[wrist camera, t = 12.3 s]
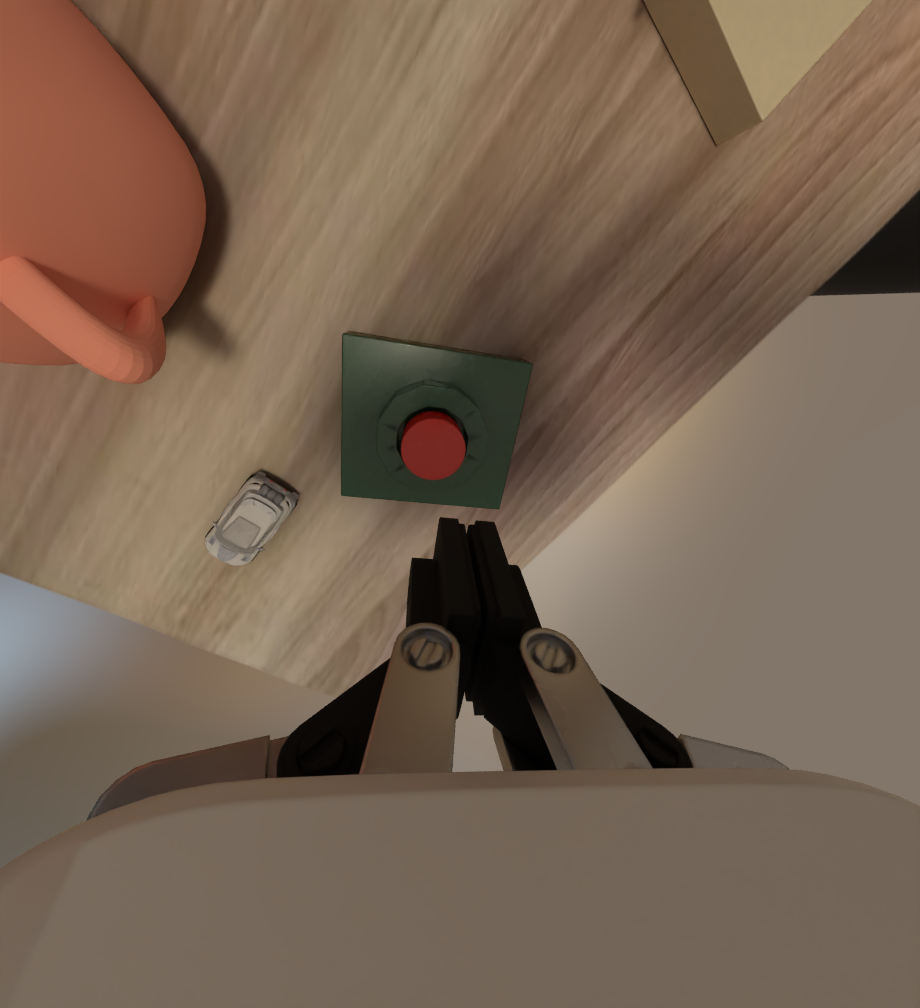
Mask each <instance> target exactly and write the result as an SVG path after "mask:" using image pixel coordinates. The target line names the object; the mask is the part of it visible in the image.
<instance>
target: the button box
mask: <svg viewBox="0 0 920 1008" xmlns="http://www.w3.org/2000/svg"><path fill="white" fill-rule="evenodd" d="M532 366H533V364H532V363H530V362H528V361H526V360H524V359H520V358H514V357H507V356H501V355H495V354H489V353H482V352H476V351H470V350H464V349H457V348H451V347H445V346H439V345H432V344H426V343H420V342H414V341H407V340H401V339H395V338H388V337H382V336H376V335H370V334H363V333H357V332H351V331H349V332H346V333H343V334H342V435H341V495H342V496H351V497H362V498H374V499H385V500H397V501H408V502H419V503H431V504H442V505H454V506H465V507H477V508H488V509H499V508H500V504H501V500H502V495H503V491H504V487H505V482H506V478H507V474H508V469H509V465H510V461H511V456H512V452H513V448H514V443H515V439H516V435H517V431H518V426H519V422H520V418H521V413H522V409H523V405H524V400H525V396H526V392H527V387H528V383H529V379H530V374H531V370H532ZM426 411H438V412H442V413H445V414H447V415H448V416H450V417H451V418H452V419H454V420H455V422H456V423H457V424H458V426H459V428H460V430H461V433H462V435H463V438H464V441H465V446H466V451H465V457H464V460H463V462H462V464H461V466H460V467H459V468H458V469H457V471H455V472H454V473H453V474H452V475H450V476H448V477H446V478H443V479H439V480H428V479H423V478H421V477H418V476H417V475H415V474H413V473H412V472H411V471H410V470H409V469H408V468H407V466H406V465H405V463H404V461H403V459H402V455H401V443H402V435H403V431H404V428H405V426H406V425H407V423H408V422H409V421H410V420H411V419H412V418H413V417H414V416H416V415H418V414H420V413H422V412H426Z"/></svg>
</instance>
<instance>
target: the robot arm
mask: <svg viewBox="0 0 920 1008" xmlns="http://www.w3.org/2000/svg"><path fill="white" fill-rule="evenodd" d="M464 692H465V697H466V701H473V708H474V715H484V718H485V719H486V720H487V721H489V722H490V723H491V724H492V725H493V735H494V741H495V744H496V747H497V751H498V754H499V757H500V760H501V764H502V767H503V770H504V771H488V772H487V771H485V772H452V767H453V753H454V752H453V751H454V737H455V723H456V719H457V718H458V716H459V712H460V708H461V704H462V700H463V696H464ZM0 1008H920V806H918V805H916V804H914V803H912V802H910V801H908V800H905V799H903V798H901V797H899V796H895V795H893V794H891V793H888V792H885V791H882V790H880V789H877V788H875V787H872V786H869V785H866V784H863V783H859V782H855V781H852V780H848V779H844V778H840V777H836V776H832V775H827V774H821V773H815V772H809V771H803V770H790V769H789V768H787V767H786V766H785V765H783V764H782V763H780V762H779V761H777V760H776V759H774V758H772V757H769V756H767V755H764V754H761V753H757V752H753V751H749V750H745V749H741V748H737V747H732V746H728V745H724V744H720V743H716V742H712V741H708V740H703V739H699V738H695V737H691V736H687V735H682V734H680V736H679V737H678V738H676V737H675V736H674V735H673V734H672V733H671V732H669V731H668V730H667V729H666V728H665V727H663V726H662V725H661V724H659V723H658V722H656V721H655V720H653V719H652V718H650V717H649V716H647V715H646V714H644V713H643V712H642V711H640V710H639V709H637V708H636V707H634V706H633V705H631V704H630V703H628V702H627V701H625V700H624V699H622V698H621V697H620V696H618V695H617V694H615V693H614V692H612V691H611V690H609V689H608V688H606V687H605V686H603V685H602V684H600V683H599V681H598V679H597V678H596V676H595V675H594V673H593V671H592V670H591V668H590V667H589V665H588V663H587V662H586V660H585V659H584V657H583V655H582V654H581V652H580V651H579V649H578V648H577V647H576V645H575V644H574V643H573V642H572V641H571V640H570V639H569V638H567V637H566V636H565V635H563V634H561V633H559V632H557V631H555V630H552V629H548V628H542V627H541V624H540V622H539V619H538V616H537V613H536V611H535V608H534V606H533V603H532V600H531V597H530V595H529V592H528V589H527V587H526V584H525V581H524V579H523V576H522V574H521V570H520V568H519V567H518V566H517V565H509V564H508V561H507V558H506V555H505V552H504V549H503V546H502V543H501V540H500V537H499V534H498V531H497V528H496V525H495V523H494V522H488V521H476V522H475V524H474V525H469V526H468V530H467V534H466V529H465V525H464V524H459V521H458V519H454V518H442V517H440V519H439V524H438V530H437V537H436V544H435V551H434V557H433V559H422V558H412V561H411V568H410V577H409V587H408V598H407V615H406V628H405V629H404V630H403V631H402V632H401V633H400V634H399V635H398V637H397V639H396V641H395V643H394V647H393V651H392V655H391V658H390V659H388V660H387V661H386V662H384V663H383V664H381V665H380V666H379V667H377V668H376V669H375V670H373V671H372V672H371V673H369V674H368V675H367V676H365V677H364V678H363V679H361V680H360V681H359V682H357V683H356V684H355V685H353V686H352V687H351V688H349V689H348V690H347V691H345V692H344V693H343V694H341V695H340V696H339V697H337V698H336V699H335V700H333V701H332V702H331V703H329V704H328V705H327V706H325V707H324V708H323V709H321V710H320V711H319V712H317V713H316V714H315V715H313V716H312V717H311V718H309V719H308V720H307V721H305V722H304V723H303V724H301V725H300V726H299V727H298V728H297V729H296V730H295V731H294V732H292V733H291V734H290V735H289V736H287V737H283V738H279V739H274V740H270V736H269V735H268V736H263V737H259V738H255V739H250V740H245V741H241V742H236V743H232V744H228V745H223V746H218V747H214V748H210V749H205V750H201V751H196V752H192V753H187V754H183V755H178V756H174V757H169V758H165V759H160V760H156V761H152V762H149V763H147V764H144V765H141V766H139V767H136V768H134V769H132V770H131V771H129V772H128V773H126V774H125V775H123V776H122V777H120V778H119V779H117V780H116V781H115V782H114V783H113V784H112V785H111V786H110V787H109V788H108V789H107V790H106V791H105V792H104V793H103V794H102V795H101V796H100V797H99V799H98V801H97V802H96V804H95V806H94V807H93V809H92V811H91V812H90V814H89V816H88V818H87V820H86V821H85V822H82V823H80V824H78V825H75V826H73V827H71V828H69V829H68V830H66V831H64V832H62V833H60V834H58V835H56V836H54V837H52V838H50V839H48V840H46V841H44V842H42V843H40V844H39V845H37V846H35V847H34V848H32V849H30V850H29V851H27V852H25V853H24V854H22V855H20V856H19V857H17V858H15V859H14V860H12V861H11V862H9V863H8V864H6V865H5V866H4V867H2V868H1V869H0Z"/></svg>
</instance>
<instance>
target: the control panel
mask: <svg viewBox="0 0 920 1008" xmlns="http://www.w3.org/2000/svg"><path fill="white" fill-rule="evenodd" d="M643 1H644V3H645V5H646V7H647V9H648V11H649V13H650V15H651V17H652V19H653V21H654V23H655V25H656V27H657V29H658V31H659V33H660V35H661V37H662V39H663V41H664V43H665V45H666V47H667V48H668V50H669V52H670V54H671V56H672V58H673V60H674V62H675V64H676V66H677V68H678V70H679V72H680V74H681V76H682V78H683V80H684V82H685V84H686V86H687V88H688V90H689V92H690V94H691V96H692V98H693V100H694V102H695V104H696V106H697V108H698V110H699V112H700V114H701V116H702V118H703V120H704V121H705V123H706V125H707V127H708V129H709V131H710V133H711V135H712V137H713V139H714V141H715V143H716V145H719V144H721V143H723V142H725V141H727V140H728V139H730V138H732V137H734V136H736V135H738V134H740V133H741V132H743V131H745V130H747V129H749V128H751V127H753V126H754V125H756V124H758V123H760V122H762V121H763V120H764V119H765V118H766V117H767V116H768V115H769V114H770V113H771V112H772V110H773V109H774V108H775V107H776V106H777V105H778V104H779V103H780V102H781V101H782V99H783V98H784V97H785V96H786V95H787V94H788V93H789V92H790V91H791V90H792V88H793V87H794V86H795V85H796V84H797V83H798V82H799V81H800V80H801V79H802V77H803V76H804V75H805V74H806V73H807V72H808V71H809V70H810V69H811V68H812V67H813V65H814V64H815V63H816V62H817V61H818V60H819V59H820V58H821V57H822V56H823V54H824V53H825V52H826V51H827V50H828V49H829V48H830V47H831V46H832V45H833V43H834V42H835V41H836V40H837V39H838V38H839V37H840V36H841V35H842V34H843V32H844V31H845V30H846V29H847V28H848V27H849V26H850V25H851V24H852V23H853V21H854V20H855V19H856V18H857V17H858V16H859V15H860V14H861V13H862V12H863V10H864V9H865V8H866V7H867V6H868V5H869V4H870V3H871V2H872V1H873V0H643Z"/></svg>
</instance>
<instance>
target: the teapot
mask: <svg viewBox="0 0 920 1008" xmlns="http://www.w3.org/2000/svg"><path fill="white" fill-rule="evenodd" d="M205 223H206V200H205V194H204V188H203V183H202V180H201V177H200V174H199V171H198V168H197V166H196V164H195V162H194V160H193V158H192V156H191V154H190V152H189V150H188V148H187V146H186V144H185V143H184V141H183V140H182V138H181V137H180V136H179V134H178V133H177V131H176V130H175V128H174V127H173V125H172V124H171V123H170V121H169V120H168V118H167V117H166V115H165V114H164V112H163V111H162V110H161V108H160V107H159V106H158V104H157V103H156V102H155V100H154V99H153V98H152V96H151V95H150V94H149V92H148V91H147V90H146V88H145V87H144V86H143V85H142V83H141V82H140V81H139V79H138V78H137V77H136V75H135V74H134V73H133V71H132V70H131V69H130V68H129V66H128V65H127V64H126V63H125V61H124V60H123V59H122V58H121V57H120V55H119V54H118V53H117V52H116V51H115V49H114V48H113V47H112V46H111V45H110V43H109V42H108V41H107V40H106V39H105V37H104V36H103V35H102V34H101V33H100V32H99V31H98V29H97V28H96V27H95V26H94V25H93V24H92V23H91V22H90V21H89V20H88V19H87V18H86V17H85V15H84V14H83V13H82V12H81V11H80V10H79V9H78V8H77V7H76V6H75V5H74V4H73V2H72V1H71V0H0V362H3V363H14V364H32V365H68V364H76V363H80V364H81V365H83V366H84V367H86V368H88V369H90V370H91V371H93V372H95V373H97V374H99V375H101V376H103V377H105V378H108V379H110V380H113V381H117V382H121V383H125V384H139V383H142V382H144V381H147V380H149V379H151V378H152V377H153V376H154V375H155V374H156V373H157V372H158V371H159V370H160V368H161V366H162V364H163V362H164V360H165V354H166V340H165V333H164V327H163V322H162V317H163V316H164V315H165V314H166V313H167V312H168V311H169V309H170V308H171V306H172V305H173V304H174V302H175V301H176V299H177V298H178V297H179V295H180V293H181V291H182V289H183V288H184V286H185V284H186V282H187V280H188V278H189V275H190V273H191V271H192V268H193V266H194V264H195V261H196V258H197V255H198V252H199V248H200V245H201V242H202V237H203V232H204V227H205Z"/></svg>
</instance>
